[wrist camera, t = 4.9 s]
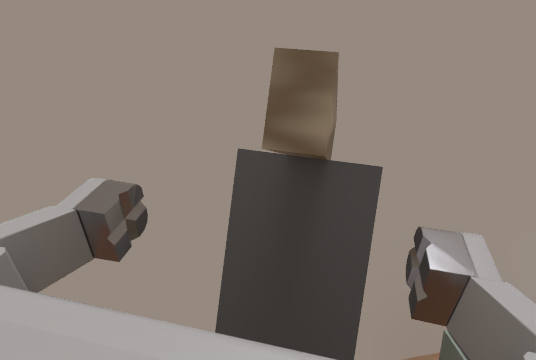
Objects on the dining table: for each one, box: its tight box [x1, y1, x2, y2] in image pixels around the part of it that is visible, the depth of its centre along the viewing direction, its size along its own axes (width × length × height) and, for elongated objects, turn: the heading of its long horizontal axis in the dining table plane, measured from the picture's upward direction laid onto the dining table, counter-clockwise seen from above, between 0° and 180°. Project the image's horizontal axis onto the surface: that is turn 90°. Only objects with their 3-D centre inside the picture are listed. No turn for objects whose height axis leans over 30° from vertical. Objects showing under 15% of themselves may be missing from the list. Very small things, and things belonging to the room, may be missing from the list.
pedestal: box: [215, 149, 383, 360], centre depth 27 cm, size 9×8×30 cm
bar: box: [262, 48, 339, 160], centre depth 24 cm, size 2×20×4 cm, turn 169°
